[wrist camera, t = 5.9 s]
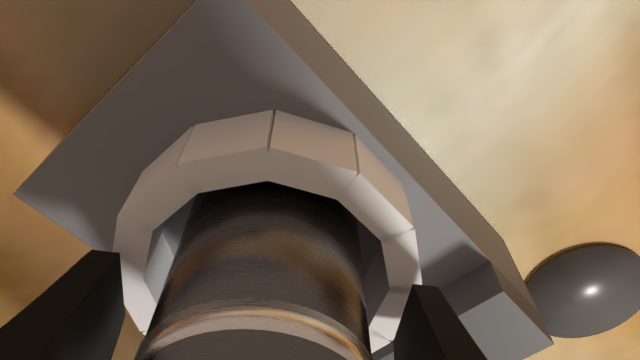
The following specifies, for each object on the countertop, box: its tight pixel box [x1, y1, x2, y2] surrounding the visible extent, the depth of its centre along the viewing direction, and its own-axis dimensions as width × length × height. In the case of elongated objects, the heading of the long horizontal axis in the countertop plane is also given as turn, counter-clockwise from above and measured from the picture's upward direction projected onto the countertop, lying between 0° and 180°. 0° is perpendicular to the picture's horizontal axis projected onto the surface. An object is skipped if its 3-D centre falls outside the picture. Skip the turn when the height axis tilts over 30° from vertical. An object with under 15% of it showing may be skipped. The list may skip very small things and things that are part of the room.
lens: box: [134, 181, 372, 360], centre depth 11 cm, size 4×4×6 cm
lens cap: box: [526, 245, 640, 338], centre depth 20 cm, size 5×5×1 cm
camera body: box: [13, 0, 554, 360], centre depth 15 cm, size 13×8×5 cm, turn 42°
